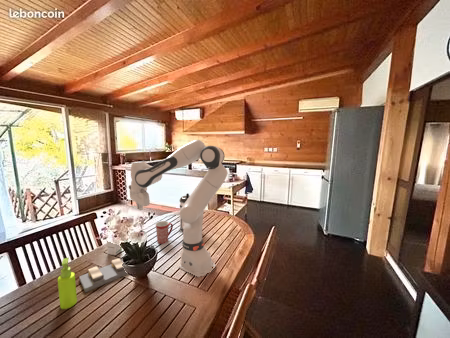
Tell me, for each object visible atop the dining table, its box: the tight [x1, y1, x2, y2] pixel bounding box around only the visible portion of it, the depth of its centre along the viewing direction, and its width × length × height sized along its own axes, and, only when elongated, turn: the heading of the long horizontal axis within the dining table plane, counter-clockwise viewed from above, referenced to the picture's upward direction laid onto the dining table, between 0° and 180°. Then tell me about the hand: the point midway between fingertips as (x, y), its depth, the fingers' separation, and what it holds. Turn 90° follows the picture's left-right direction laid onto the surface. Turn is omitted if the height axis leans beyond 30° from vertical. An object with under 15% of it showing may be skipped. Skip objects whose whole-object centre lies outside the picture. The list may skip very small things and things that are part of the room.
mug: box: [155, 220, 174, 244], centre depth 145 cm, size 13×9×14 cm
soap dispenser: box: [57, 257, 78, 310], centre depth 88 cm, size 6×7×20 cm
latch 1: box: [87, 265, 104, 282], centre depth 103 cm, size 11×4×1 cm, turn 46°
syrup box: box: [106, 240, 123, 256], centre depth 128 cm, size 6×6×14 cm
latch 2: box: [110, 257, 124, 272], centre depth 111 cm, size 11×4×1 cm, turn 46°
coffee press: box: [178, 193, 190, 232], centre depth 165 cm, size 17×16×30 cm
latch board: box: [79, 259, 128, 293], centre depth 107 cm, size 12×23×3 cm, turn 136°
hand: (139, 209), depth 125 cm, fingers closed
